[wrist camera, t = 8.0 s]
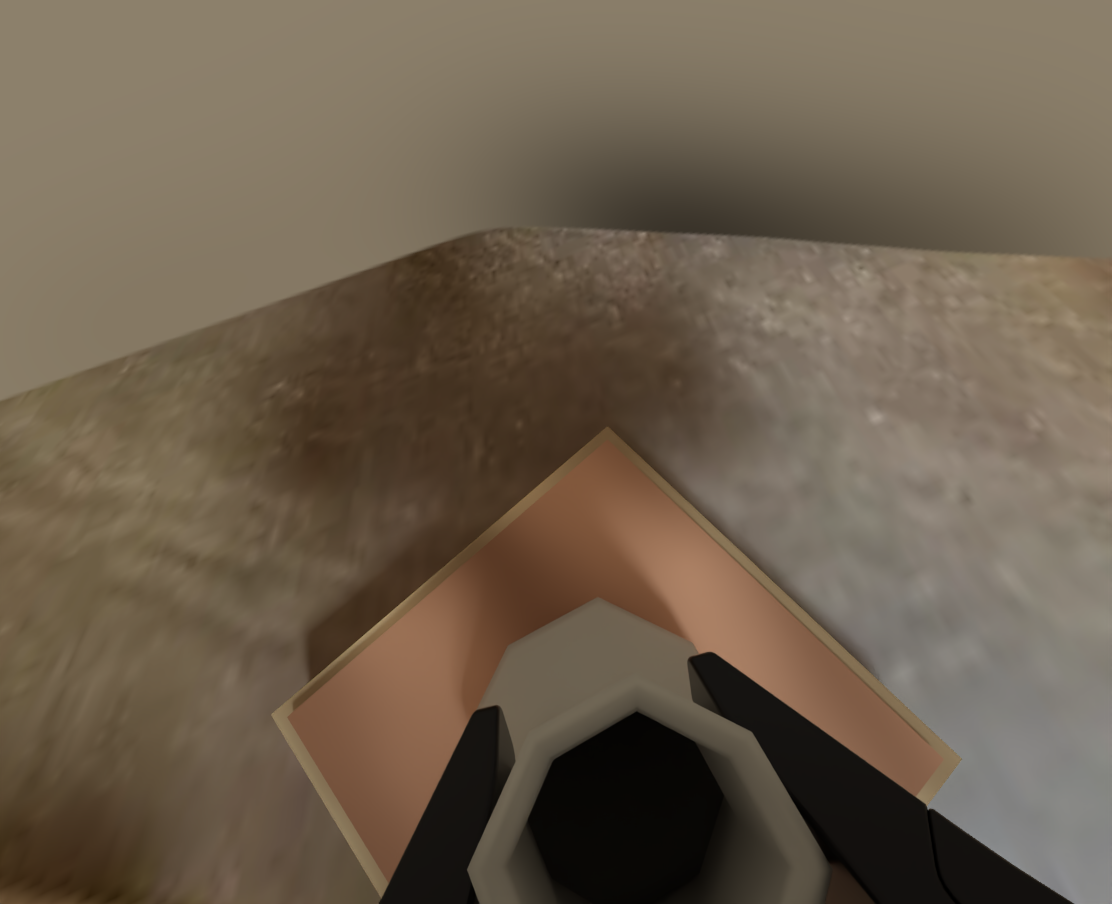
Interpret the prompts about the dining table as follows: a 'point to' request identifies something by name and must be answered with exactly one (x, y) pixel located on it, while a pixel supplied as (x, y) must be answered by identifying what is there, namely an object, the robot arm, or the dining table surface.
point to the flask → (632, 780)
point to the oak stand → (545, 595)
